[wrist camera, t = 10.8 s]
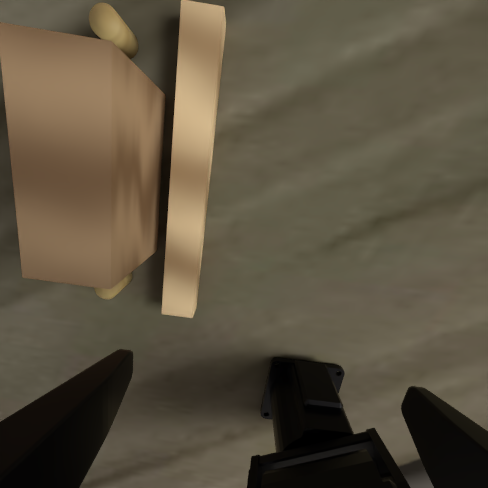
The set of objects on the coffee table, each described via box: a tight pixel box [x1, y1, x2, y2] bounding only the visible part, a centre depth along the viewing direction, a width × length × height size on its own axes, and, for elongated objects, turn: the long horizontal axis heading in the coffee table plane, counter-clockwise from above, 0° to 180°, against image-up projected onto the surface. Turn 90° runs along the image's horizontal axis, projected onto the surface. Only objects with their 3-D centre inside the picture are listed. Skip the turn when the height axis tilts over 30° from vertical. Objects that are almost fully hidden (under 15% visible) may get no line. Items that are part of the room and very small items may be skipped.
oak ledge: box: [89, 0, 226, 318], centre depth 17 cm, size 20×7×2 cm, turn 172°
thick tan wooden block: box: [0, 22, 166, 290], centre depth 15 cm, size 11×5×7 cm, turn 172°
